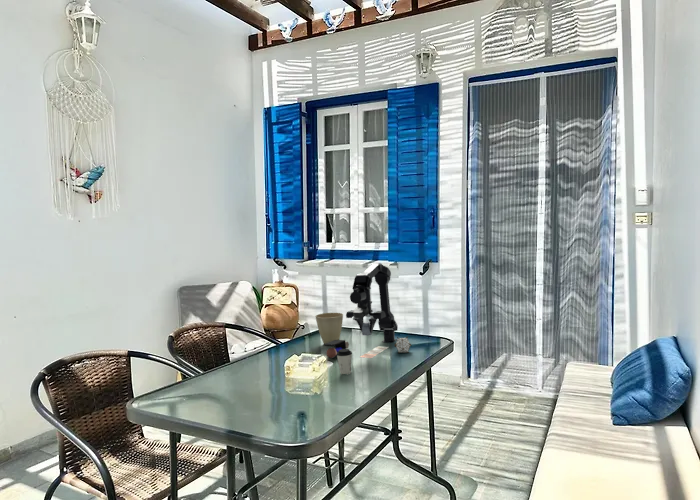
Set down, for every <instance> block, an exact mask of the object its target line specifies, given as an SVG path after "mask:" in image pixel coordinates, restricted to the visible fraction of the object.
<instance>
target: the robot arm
mask: <svg viewBox="0 0 700 500" xmlns="http://www.w3.org/2000/svg"><path fill="white" fill-rule="evenodd" d="M391 276H392V272H391V269H389V267H387V266H386V265H383V263H381V262H372V263H371V264H370V265H369V267H367V269H366V270H365V271H362V272H360V273H357V274H356V275H355V276H354V280H353V284H352V291H353V292H351V293H350V295H349V300H350V302H351V303H353V304H354V305H355V304H356V305H357V307H356V308H355V309H353V310H352V309H351V310H349V311H346V312H345V317H346V319H352V320H353V321H355V322H356V323H357V324H358V328H359V329H360V332H361V333H362V326H363V323H364V318H365V317H368V318H369V317H370V318H369V319H368V321H369V323H370V333H371V334H372V333H373V331H374V329H375V325H376V322H377V320H378V328H379V329H378V330H379V331H380V332H382V331H383V340H382V341H381V343H389V344H393V343H396V342H397V340H398V338H397V339H396V337H395V332H396V331H398V323H397V321H396V320H395V316H394V314H393V313H392V311H391V304H390V295H389V294H390V293H389V292H390V291H389V283H390V281H391ZM373 278H374V281H375V282H376V284H377V285H378V290H379V302H380V310H376V311H375V312H373V309H372V303H373V301H372V300H371V289H372V283H373Z"/></svg>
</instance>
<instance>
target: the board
mask: <svg viewBox="0 0 700 500" xmlns="http://www.w3.org/2000/svg"><path fill="white" fill-rule="evenodd" d="M388 348H389V346H379V345H378V346H376V347H374V348H372V349H371V350H369V351H367V352H366V353H364V354H362V355H360V356H359V358H365V359H372V358H374V357H375V356H377V355H379V354H380V353H382V352H383V351H385V350H387V349H388Z"/></svg>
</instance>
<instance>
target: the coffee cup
mask: <svg viewBox="0 0 700 500" xmlns="http://www.w3.org/2000/svg"><path fill="white" fill-rule="evenodd" d="M336 357H337V362H338V368H339V373H341V374H340V375H342V374H347V375H350V374H351V373H352V359H353V358H352V357H353V352H352V351H351V350H350V349H349V348H347V349H340V350H339V352H337V354H336Z"/></svg>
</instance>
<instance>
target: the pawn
mask: <svg viewBox="0 0 700 500" xmlns="http://www.w3.org/2000/svg"><path fill="white" fill-rule="evenodd" d="M361 333H362V334H361V335H362V336H371V335H372V333H370V322H368V321H367V322H363V326H362V332H361Z"/></svg>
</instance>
